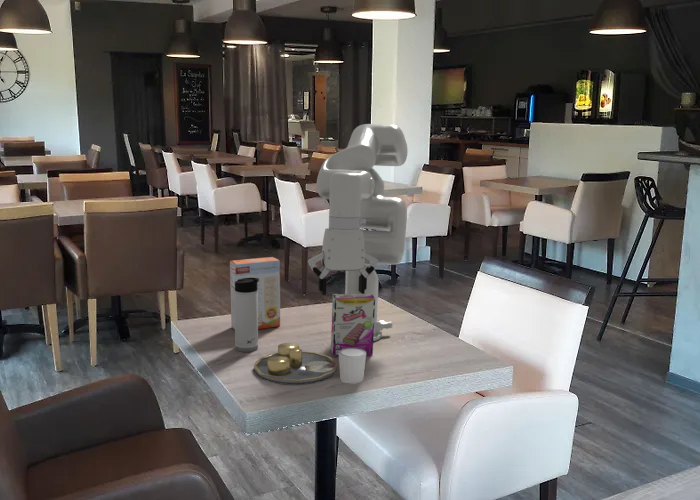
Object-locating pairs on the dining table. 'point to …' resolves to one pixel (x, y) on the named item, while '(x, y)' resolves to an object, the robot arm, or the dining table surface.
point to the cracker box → (259, 288)
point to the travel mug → (246, 314)
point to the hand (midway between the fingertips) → (342, 293)
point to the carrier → (295, 366)
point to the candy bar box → (352, 322)
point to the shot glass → (352, 365)
